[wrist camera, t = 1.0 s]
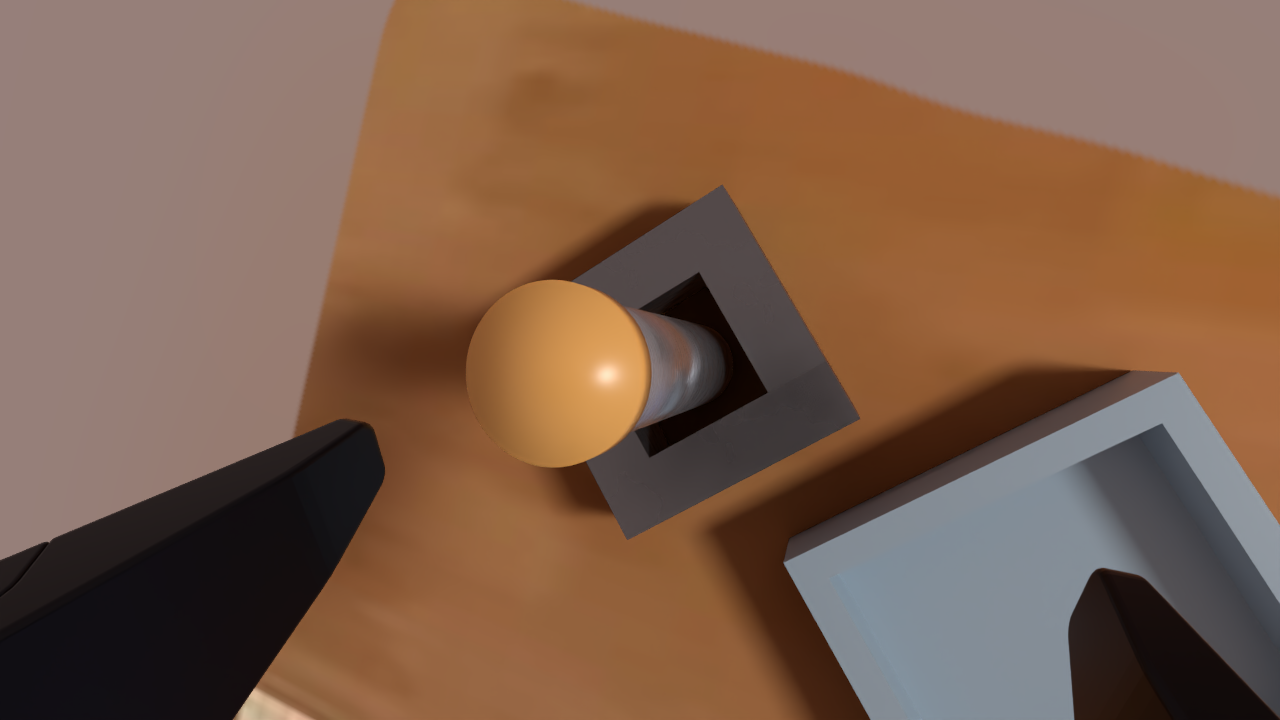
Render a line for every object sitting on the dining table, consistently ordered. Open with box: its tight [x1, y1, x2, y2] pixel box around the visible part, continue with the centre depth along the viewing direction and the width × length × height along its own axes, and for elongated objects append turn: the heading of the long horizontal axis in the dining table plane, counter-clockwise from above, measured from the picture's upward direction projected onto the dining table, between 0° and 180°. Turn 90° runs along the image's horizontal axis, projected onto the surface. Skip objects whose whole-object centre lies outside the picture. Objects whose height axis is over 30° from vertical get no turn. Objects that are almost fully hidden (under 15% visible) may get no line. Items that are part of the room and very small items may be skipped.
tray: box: [783, 371, 1280, 720], centre depth 21 cm, size 12×12×3 cm
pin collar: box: [571, 185, 860, 540], centre depth 24 cm, size 8×8×3 cm
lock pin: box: [466, 280, 733, 467], centre depth 19 cm, size 3×3×13 cm
